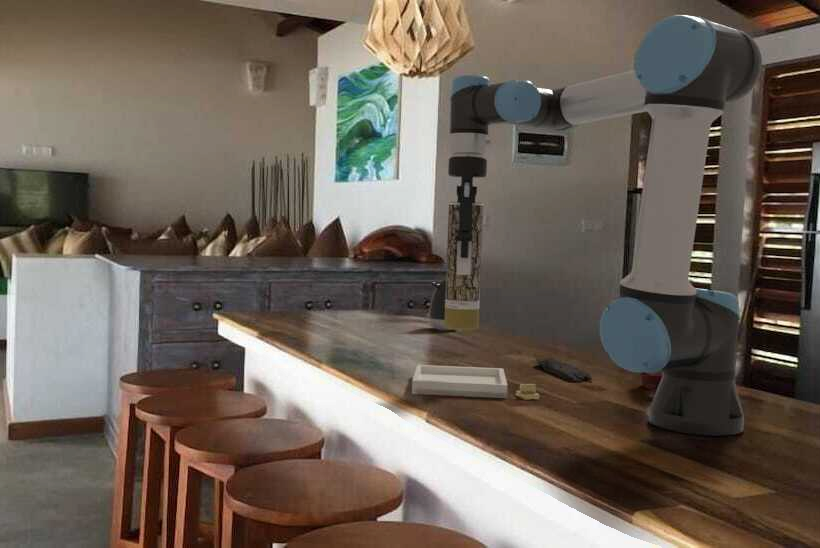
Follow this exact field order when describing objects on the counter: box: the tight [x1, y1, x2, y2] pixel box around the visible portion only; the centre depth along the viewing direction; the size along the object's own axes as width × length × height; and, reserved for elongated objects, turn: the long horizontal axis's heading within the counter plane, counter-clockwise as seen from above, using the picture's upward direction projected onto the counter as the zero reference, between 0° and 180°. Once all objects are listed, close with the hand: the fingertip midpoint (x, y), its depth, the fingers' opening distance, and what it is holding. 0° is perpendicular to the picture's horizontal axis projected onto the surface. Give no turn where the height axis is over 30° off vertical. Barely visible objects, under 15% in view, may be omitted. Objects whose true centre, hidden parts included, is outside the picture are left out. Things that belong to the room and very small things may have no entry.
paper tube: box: [444, 201, 484, 331], centre depth 170 cm, size 7×7×25 cm
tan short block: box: [515, 383, 540, 401], centre depth 163 cm, size 4×3×3 cm
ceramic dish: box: [411, 364, 508, 399], centre depth 171 cm, size 18×18×2 cm
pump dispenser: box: [428, 278, 454, 332], centre depth 258 cm, size 10×10×15 cm
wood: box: [535, 357, 593, 384], centre depth 191 cm, size 22×7×3 cm, turn 16°
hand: (463, 273), depth 170 cm, fingers closed on paper tube, 7 cm apart
